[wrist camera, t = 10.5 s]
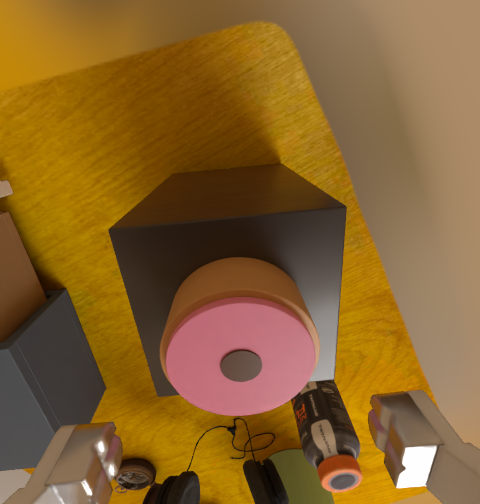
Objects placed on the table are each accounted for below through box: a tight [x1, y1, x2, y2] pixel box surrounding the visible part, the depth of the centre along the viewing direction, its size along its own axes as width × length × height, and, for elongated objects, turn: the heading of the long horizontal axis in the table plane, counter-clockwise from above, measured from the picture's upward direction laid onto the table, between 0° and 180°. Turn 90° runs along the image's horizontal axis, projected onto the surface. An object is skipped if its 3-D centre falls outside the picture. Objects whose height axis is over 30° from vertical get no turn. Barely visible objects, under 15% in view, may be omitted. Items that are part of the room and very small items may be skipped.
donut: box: [160, 257, 320, 416], centre depth 12 cm, size 6×6×3 cm
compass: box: [114, 460, 162, 504], centre depth 40 cm, size 8×8×7 cm
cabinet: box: [0, 289, 106, 471], centre depth 29 cm, size 15×12×9 cm
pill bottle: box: [291, 379, 362, 492], centre depth 32 cm, size 6×6×11 cm
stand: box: [109, 164, 346, 397], centre depth 20 cm, size 10×10×15 cm
